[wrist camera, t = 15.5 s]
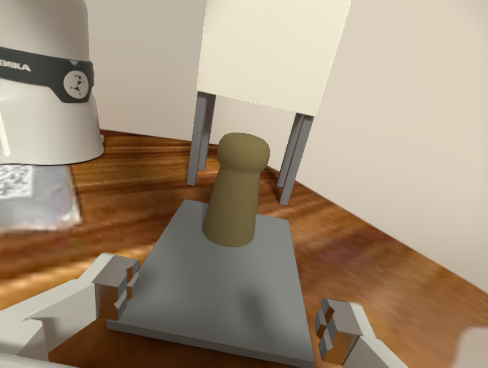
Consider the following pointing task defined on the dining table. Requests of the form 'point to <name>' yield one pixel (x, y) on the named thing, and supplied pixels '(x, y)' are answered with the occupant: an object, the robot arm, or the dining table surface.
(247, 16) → the cabinet
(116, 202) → the dining table surface
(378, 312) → the dining table surface
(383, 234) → the dining table surface
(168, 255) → the mat
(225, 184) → the olive pear shape
